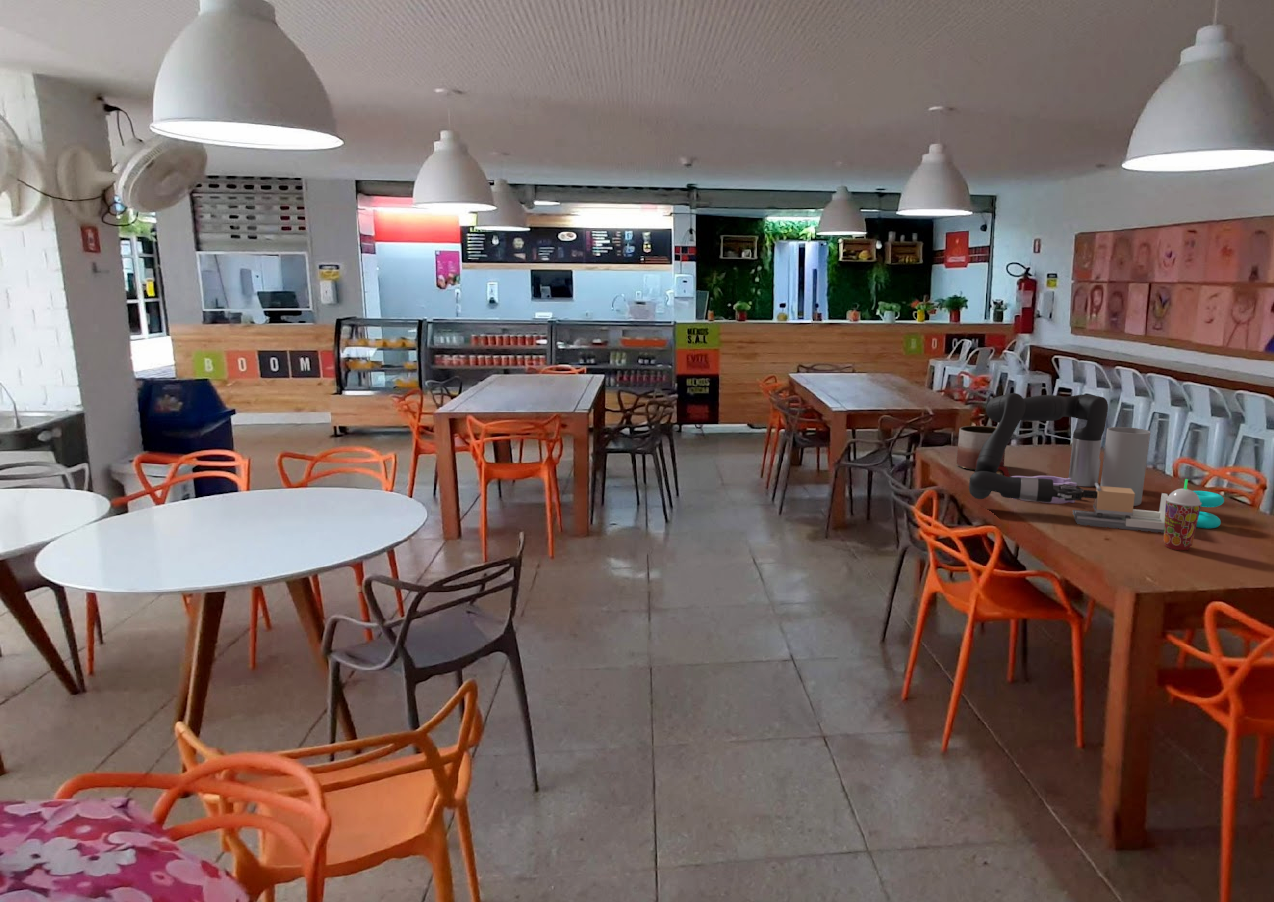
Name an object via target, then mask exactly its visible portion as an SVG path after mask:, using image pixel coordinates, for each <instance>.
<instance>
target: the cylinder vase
mask: <svg viewBox="0 0 1274 902" xmlns="http://www.w3.org/2000/svg"><path fill="white" fill-rule="evenodd" d="M1105 436H1106V437H1105V444H1104V452H1103V460H1102V461H1103V462H1102V469H1101V476H1100V477H1101V478H1100V479H1101V480H1100V484H1099V486H1106V487H1119V488H1131V489H1132V490H1133V492H1134V493H1135V497H1134V505H1133V507H1137V506H1140V505H1141V504H1142V501H1143V492H1144V485H1145V479H1146V478H1145V477H1146V469H1147V462H1148V454H1149V453H1148V452H1149V446H1150V439H1151V438H1150V437H1151V431H1150V430H1147V429H1144V428H1138V427H1125V426H1112V427H1107V428H1106V435H1105Z"/></svg>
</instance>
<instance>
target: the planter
mask: <svg viewBox="0 0 1274 902" xmlns="http://www.w3.org/2000/svg"><path fill="white" fill-rule="evenodd" d="M996 428H997V426H996V427H995V426H988V425H987V426H986V425H984V426H983V425H965V426H961V427H959V432H958V444H957V451H956V465H957V466H958V467H960V468H962V469H964V468H966V469H965V470H968V469H970V470H969V471H974V470H976V461H977V459H978V457H979V454H980V451H981V449H982V446H983V445H984V443H985V442H986V440H987V439H988V438H989V437H990V435H991V434H992V433H993V432H994V431H995V429H996ZM1005 455H1006V450H1005V451H1004V453H1003V456H1002V459H1001V461H1003V462H1004V463H1005ZM998 470H999V469H998Z"/></svg>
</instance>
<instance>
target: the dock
mask: <svg viewBox="0 0 1274 902" xmlns="http://www.w3.org/2000/svg"><path fill="white" fill-rule="evenodd" d="M1168 496H1169V494H1168V493H1163V492H1161V497H1160V503H1159V510H1158V511H1155V510H1145V509H1134V508H1133V516H1131V519H1127V518H1126V519H1125V516H1126V515H1117V514H1106V513H1102V514H1103V516H1102V517H1100V518H1099V517H1097V513H1096V512H1095V511H1091V510H1081V509H1080V510H1078V509H1072V512H1073V513H1072V515H1074V516H1073V517H1074V520H1075V523H1077V524H1080V525H1079V526H1087V525H1090V526H1089V527H1098V528H1099V527H1100V528H1107V527H1109V529H1110V528H1111V529H1118V528H1119V529H1120V530H1130V531H1138V530H1141V531H1140V532H1142V531H1143V532H1148V531H1151V532H1152V533H1158V532H1161V534H1164V524H1165V508H1166V498H1168ZM1077 524H1076V525H1077Z"/></svg>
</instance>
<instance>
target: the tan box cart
mask: <svg viewBox="0 0 1274 902" xmlns="http://www.w3.org/2000/svg"><path fill="white" fill-rule="evenodd" d="M1094 487H1095V491H1097V498H1096V499H1094V502H1093V505H1092V507H1093V509H1094V512H1096V513H1097V517H1099V518H1100V517H1102V516H1103V514H1102V513H1106V514H1117V515H1126V516H1125V519H1126V518H1127V519H1131V516H1133V509H1134V506H1133V505H1134V497H1135V493H1134V492H1133V490H1132V489H1131V488H1119V487H1106V486H1100V484H1099V482H1098V483H1097V482H1096V483H1095V486H1094Z"/></svg>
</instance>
